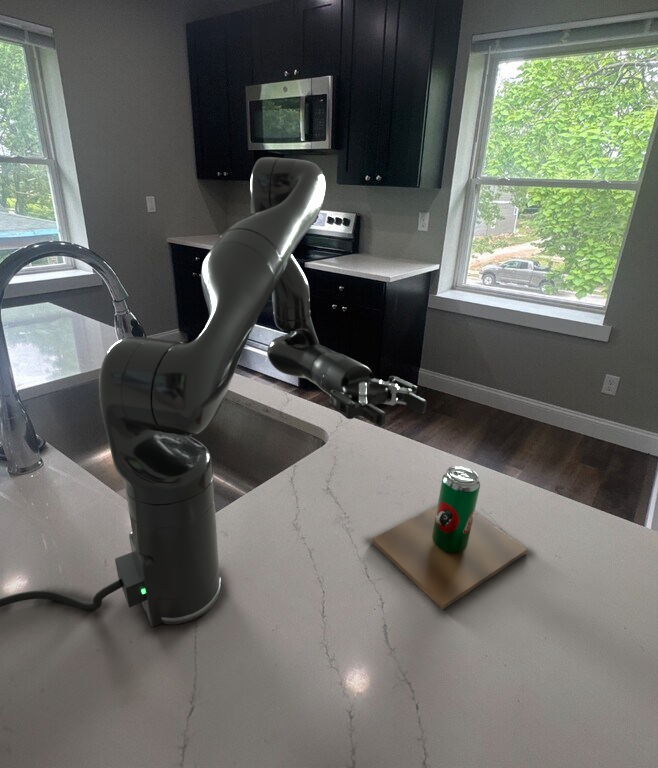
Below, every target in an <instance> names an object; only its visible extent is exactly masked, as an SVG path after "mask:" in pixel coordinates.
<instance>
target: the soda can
mask: <svg viewBox="0 0 658 768" xmlns="http://www.w3.org/2000/svg"><path fill="white" fill-rule="evenodd" d="M479 479H480V478H479V475H478V474H477V472H476V471H474V470H473V469H471V468H469V467H466V466H461V465H454V466H450V467H449V468H447V469H446V471H445V473H443V475H442V478H441V484H440V490H439V495H438V501H437V506H436V507H437V512H436V518H435V524H434V529H433V535H432V539H433V541H434V543H435V544H436V546H437V547H438V548H440V549H441V550H443V551H445V552H448V553H459V552H461V551H463V550H465V549H466V547H467V544H468V540H469V535H470V531H471V526H472V521H473V517H474V512H475V511H476V507H477V504H478V503H477V502H478V498H479V493H480V489H481V483H480V480H479ZM475 513H476V512H475Z"/></svg>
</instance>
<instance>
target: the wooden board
mask: <svg viewBox="0 0 658 768" xmlns="http://www.w3.org/2000/svg"><path fill="white" fill-rule="evenodd" d="M436 512H437V506H435V507H433V508H431V509H429V510H427V511H425V512H423V513H421V514H419V515H417V516H415V517H413V518H411V519H409V520H407V521H404V522H402V523H401V524H399V525H397V526H395V527H393V528H391V529H389V530H386V531H385V532H382V533H381V534H378V535H377V536H374V537H372V538H371V544H372V545H373V546H375V547H376V549H378V551H380V552H381V554H383V555H384V556H385V557H386V558H387V559H388V560H389V561H390V562H392V564H393V565H394V566H395V567H397V568H398V569H399V570H400V572H402V573H403V574H404V575H405V576H406V577H407V578H408V579H409V580H410V581H411V582H413V583H414V584H415V585H416V586H417V587H418V588H419V589H420V590H421V591H422V592H423V593H424V594H425V595H426V596H427V597H429V599H431V600H432V602H434V604H436V605H437V606H438V607H439V608H440V610H442V611H443V610H445V609H447V608H448V607H449V606H451V605H452V604H453V603H455V602H456V601H458V600H459V599H461V598H463V597H464V596H466V595H467V594H468V593H470V592H472V591H473V590H474V589H476V588H477V587H479V586H481V585H482V584H483V583H485V582H486V581H488V580H490V579H491V578H492V577H494V576H495V575H497V574H498V573H499V572H501V571H502V570H504V569H506V568H507V567H508V566H510V565H511V564H513V563H515V562H516V561H517V560H519V559H520V558H522V557H523V556H525V555H526V554H527V553H528V548H527V547H525V546H524V545H522V544H521V543H519V542H518V541H516V540H515V539H514V538H512V537H510V536H509V535H508V534H507V533H505V532H504V531H502V529H501V530H500V529H499V528H498V527H497V526H495V525H493V524H492V523H491V522H489V521H488V520H486V519H485V518H483V517H482V516H481V515H479V514H478V513H476V512H474V517H473V521H472V526H471V531H470V535H469V540H468V544H467V547H466V549H465V550H463V551H461V552H459V553H448V552H445V551H443V550H441V549H440V548H438V547H437V546H436V544H435V543H434V541H433V539H432V535H433V529H434V524H435V518H436Z"/></svg>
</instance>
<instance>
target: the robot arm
mask: <svg viewBox="0 0 658 768" xmlns="http://www.w3.org/2000/svg"><path fill="white" fill-rule="evenodd" d="M249 186H250V199H251V205H252V210H253V213H252V214H251V215H247V216H246V217H244V218H242V219H240V220H238V221H236V222H235V223H233V224H231V225H230V226H229V227H228V228H227V229H225V231H223V233H222V234H221V235H220V236H219V238H218V239H217V241H216V242H215V243H214V245H213V246H212V247H211V248H210V250H209V252H208V253H207V255H206V256H205V258H204V260H203V262H202V266H201V270H200V281H201V286H202V293H203V296H204V300H205V303H206V307H207V310H208V319H207V322H206V324H205V326H204V328H203V330H202V331H201V333H200V334H199V335H198V336H197V337H196V338H195V339H194V340H192V341H190V342H182V341H176V340H169V339H159V338H153V337H144V336H128V337H124V338H122V339H119V340H117V341H116V342H115V343H113V345H111V346H110V348H109V349H108V350H107V352H106V354H105V355H104V358H103V360H102V363H101V366H100V370H99V376H98V398H99V406H100V410H101V416H102V420H103V425H104V429H105V433H106V437H107V441H108V446H109V451H110V454H111V459H112V463H113V466H114V468H115V470H116V472H117V474H118V475H119V476H120V478H121V479H122V481H123V483H124V488H125V495H126V500H127V508H128V514H129V521H130V527H131V532H130V533H129V534H128V539H129V543H130V549H131V550H130V551H131V552H129V553H126V554H123V555H121V556H119V557H115V558H114V562H115V563H114V564H115V569H116V573H117V578H118V579H117V580H115V581H114V582H112V583H110V584H108V585H106V586H105V587H103V588H101V589H100V590H99V591H97V592H96V593H95V595H94V596H93V599H92V601H85V600H80V599H78V598H75V597H72V596H70V595H67V594H65V593H61V592H57V591H52V590H45V589H44V590H29V591H23V592H18V593H15V594H10V595H7V596H4V597H1V598H0V608H2V607H5V606H8V605H11V604H15V603H19V602H24V601H29V600H40V599H42V600H50V601H54V602H57V603H61V604H64V605H67V606H71V607H73V608H77V609H79V610H83V611H96V610H98V609H99V608H101V606H102V604H103V599H104V598H105V597H107V596H109V595H110V594H112V593H115V592H116V591H118V590H120V589H122V592H123V594H124V597H125V600H126V603H127V606H128V608H132V607H134V606H136V605H138V604H141V603H142V609H143V610H144V612H145V614H146V616H147V619H148V621H149V624H150V626H151V627H157V626H159V625H161V624H164V625H177V624H178V625H179V624H184V623H188V622H190V621H193V620H196V619H197V618H200V617H201V616H203V615H204V614H206V613H207V612H208V611H209V610H210V609H212V607H214V605H215V604H216V602H217V601H218V599H219V597H220V595H221V594H220V593H221V589H222V583H221V581H222V580H221V575H220V573H221V572H220V565H219V564H220V563H219V549H218V547H219V546H218V533H217V531H218V530H217V514H216V498H215V485H214V483H215V482H214V481H215V480H214V468H213V467H214V466H213V458H212V455H211V452H210V451H209V449H208V448H207V447H206V446H205V445H204V444H203V443H202V442H201V441H199V440H197V439H196V438H194V436H196V435H200V434H201V433H203V432H204V431H206V429H207V428H208V427H209V426H210V425H211V423H212V422H213V421H214V419H215V418H216V416H217V414H218V413H219V410H220V409H221V407H222V405H223V403H224V400H225V398H226V395H227V393H228V390H229V388H230V385H231V383H232V380H233V378H234V375H235V373H236V370H237V368H238V365H239V362H240V360H241V357H242V355H243V352H244V349H245V346H246V345H247V342H248V340H249V337H250V336H251V334H252V332H253V330H254V328H255V326H256V324H257V322H258V319H259V318H260V316H261V314H262V312H263V310H264V309H265V307H266V305H267V303H268V302H269V300H270V298H271V302H272V303H271V304H272V316H273V322H274V325H275V326H276V327H277V328H278V329H280V330H281V331H283V332H284V331H285V332H289V333H286V334H283V335H280V336H278V337H276V338H274V339H272V340H271V341H270V343H269V344H268V346H267V351H266V353H267V354H266V355H267V360H268V361H269V362H270V364H271V366H272V367H273V368H274V369H275V370H277V371H278V372H279V373H282V374H285V375H287V376H291V377H296V378H300V379H306V380H308V381H309V382H311V383H312V384H314V385H316V386H317V387H318V388H319V389H320V390H322V392H324V393H326V394H327V395H329V406H330V407H331V408H333V409H334V410H335V411H336V412H338V413H339V414H341V415H342V416H343V417H345V418H346V419H348V420H353V419H354V418H355V417H356V416H357V417H358V418H359V419H365V420H367V421H369V422H370V423H372V424H374V425H376V426H378V427H383V426H385V425H386V418H387V415H386V412H385V411H383V410H382V409H380V408H378V407H377V406H376V405H378V404H379V405H381V404H383V405H388V406H389V405H390V406H395V405H396V404H399V405H405V406H406V407H408V408H410V409H411V410H413V411H414V412H417V413H419V414H420V415H421V414H424V413H426V412H427V407H428V406H427V405H428V401H427V400H426V399H424V398H422V397H420V396H419V395H417V390H418V386H417V385H415V384H413V383H410V382H408V381H406V380H404V379H401V378H400V377H398V376H396V375H390V376H389V378H388V380H387V381H384V380H382V379H379V378H376V377H375V375H374V373H373V372H372V370H371V368H369V367H368V366H367V365H365V364H363V363H361V362H359V361H357V360H355V359H353V358H352V357H349V356H347V355H345V354H342V353H340V352H337V351H334V350H333V349H331V348H328V347H326V346H324V345H322V344H320V342H319V338H318V336H317V333H316V330H315V327H314V324H313V320H312V317H311V297H310V293H311V292H310V285H309V282H308V279H307V277H306V274H305V272H304V271H303V269H302V268H301V266H300V263H298V261H297V259H296V258H295V256H294V255H293V253H294V252H295V250H296V248H297V246H298V245H299V243H300V242H301V240H302V239H303V238H304V236H305V235H306V234H307V232H309V230H310V228H312V225H313V224H314V223H315V221H316V220H317V218H318V216H319V215H320V212H321V209H322V207H323V204H324V201H325V197H326V189H327V188H326V186H327V185H326V177H325V173H324V172H323V170H322V168H321V167H320V165H318V164H316V162H313V161H310V160H307V159H298V158H285V157H274V156H262V157H260V158H258V159H257V160H256V162H255V164H254V166H253V168H252V171H251V176H250V185H249ZM389 392H390V394H391V398H388V395H389ZM398 396H399V397H398ZM400 397H401V398H400Z"/></svg>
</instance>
